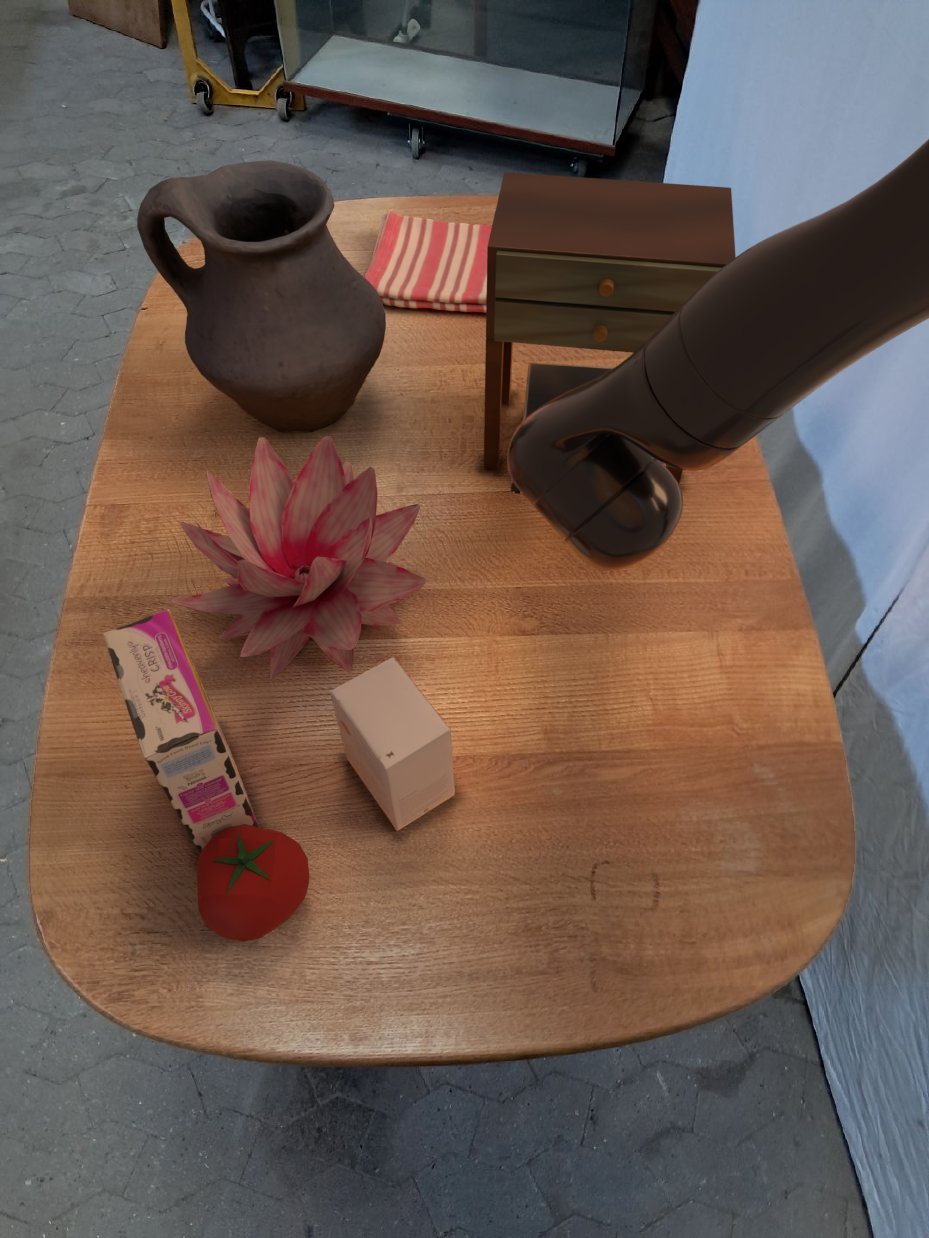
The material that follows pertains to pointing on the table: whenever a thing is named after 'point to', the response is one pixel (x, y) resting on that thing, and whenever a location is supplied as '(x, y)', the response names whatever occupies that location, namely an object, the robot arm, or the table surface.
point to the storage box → (555, 382)
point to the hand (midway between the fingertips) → (581, 484)
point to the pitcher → (268, 291)
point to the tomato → (250, 881)
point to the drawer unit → (592, 268)
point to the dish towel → (430, 264)
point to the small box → (395, 742)
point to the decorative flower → (304, 557)
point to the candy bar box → (178, 727)
